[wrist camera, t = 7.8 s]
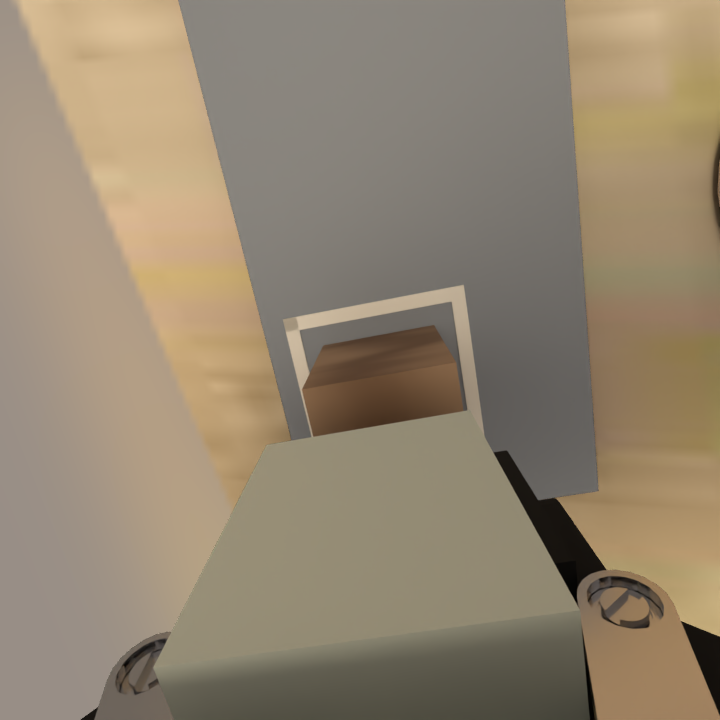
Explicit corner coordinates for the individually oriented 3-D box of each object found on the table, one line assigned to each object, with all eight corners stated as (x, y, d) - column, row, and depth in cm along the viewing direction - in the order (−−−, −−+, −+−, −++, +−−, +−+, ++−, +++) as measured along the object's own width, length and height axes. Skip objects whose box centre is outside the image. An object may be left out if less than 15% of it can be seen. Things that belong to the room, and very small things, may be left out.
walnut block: (433, 324, 20) (456, 362, 14) (450, 428, 21) (476, 500, 16) (323, 345, 21) (301, 389, 15) (345, 445, 22) (334, 521, 16)
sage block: (469, 410, 11) (580, 610, 5) (495, 583, 12) (606, 902, 6) (266, 445, 11) (152, 667, 5) (311, 609, 12) (257, 932, 7)
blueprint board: (548, -99, 17) (558, -118, 16) (590, 482, 23) (599, 492, 22) (183, -4, 18) (173, -16, 17) (317, 523, 24) (315, 534, 23)
